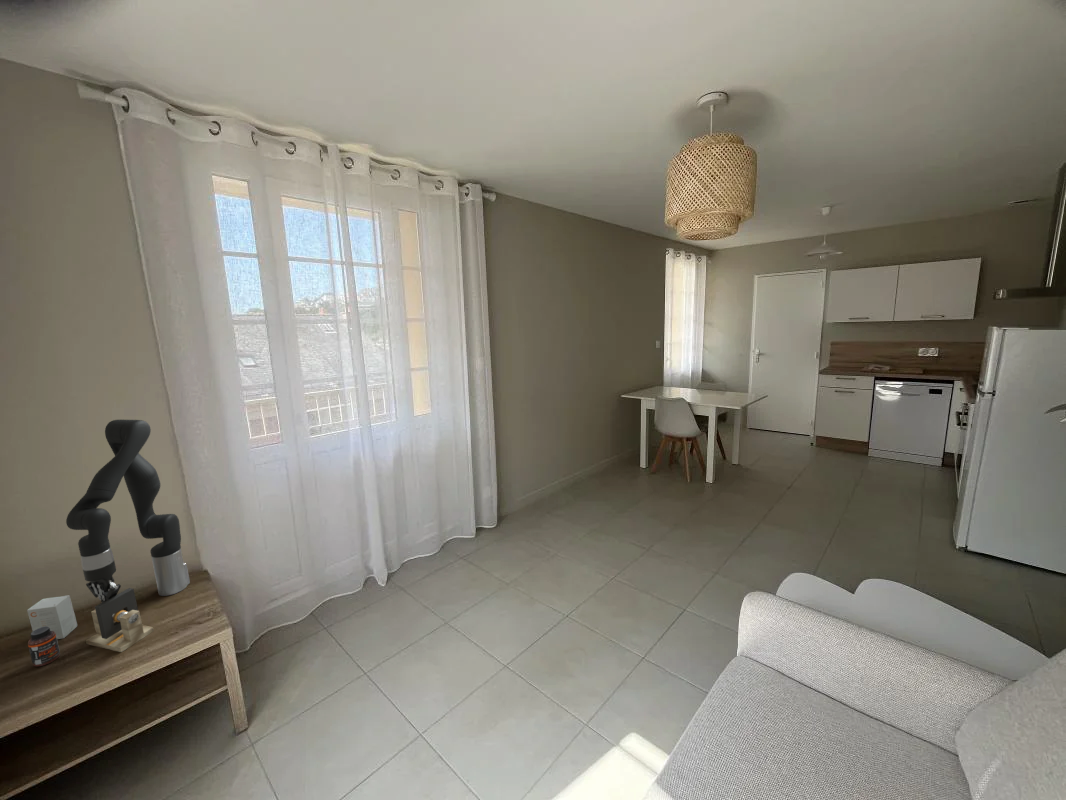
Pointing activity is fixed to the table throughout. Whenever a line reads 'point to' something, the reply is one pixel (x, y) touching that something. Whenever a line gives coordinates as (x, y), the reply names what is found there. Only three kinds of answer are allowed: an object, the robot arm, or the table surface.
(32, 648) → the supplement bottle
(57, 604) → the small box
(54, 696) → the table surface
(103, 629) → the dark grey flat block
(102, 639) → the pipe stand
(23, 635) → the table surface
